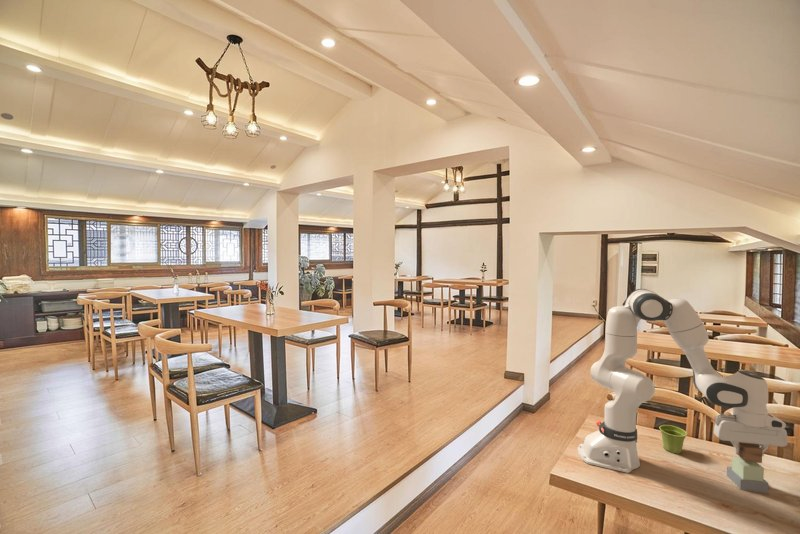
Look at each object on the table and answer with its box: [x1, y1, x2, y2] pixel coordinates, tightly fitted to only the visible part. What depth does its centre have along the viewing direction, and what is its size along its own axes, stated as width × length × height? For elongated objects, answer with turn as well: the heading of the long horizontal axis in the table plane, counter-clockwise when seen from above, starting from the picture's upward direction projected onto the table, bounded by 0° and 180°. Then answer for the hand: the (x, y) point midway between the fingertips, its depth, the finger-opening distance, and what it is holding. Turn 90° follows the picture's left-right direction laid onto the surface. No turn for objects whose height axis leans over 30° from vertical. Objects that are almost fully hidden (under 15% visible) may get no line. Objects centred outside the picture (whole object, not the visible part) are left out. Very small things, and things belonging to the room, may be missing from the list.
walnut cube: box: [735, 442, 763, 464], centre depth 129 cm, size 5×5×5 cm
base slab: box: [726, 466, 769, 494], centre depth 130 cm, size 8×8×4 cm
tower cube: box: [731, 455, 765, 482], centre depth 129 cm, size 6×6×5 cm
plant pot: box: [659, 424, 688, 454], centre depth 152 cm, size 9×9×9 cm
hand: (748, 453), depth 129 cm, fingers closed on walnut cube, 5 cm apart
